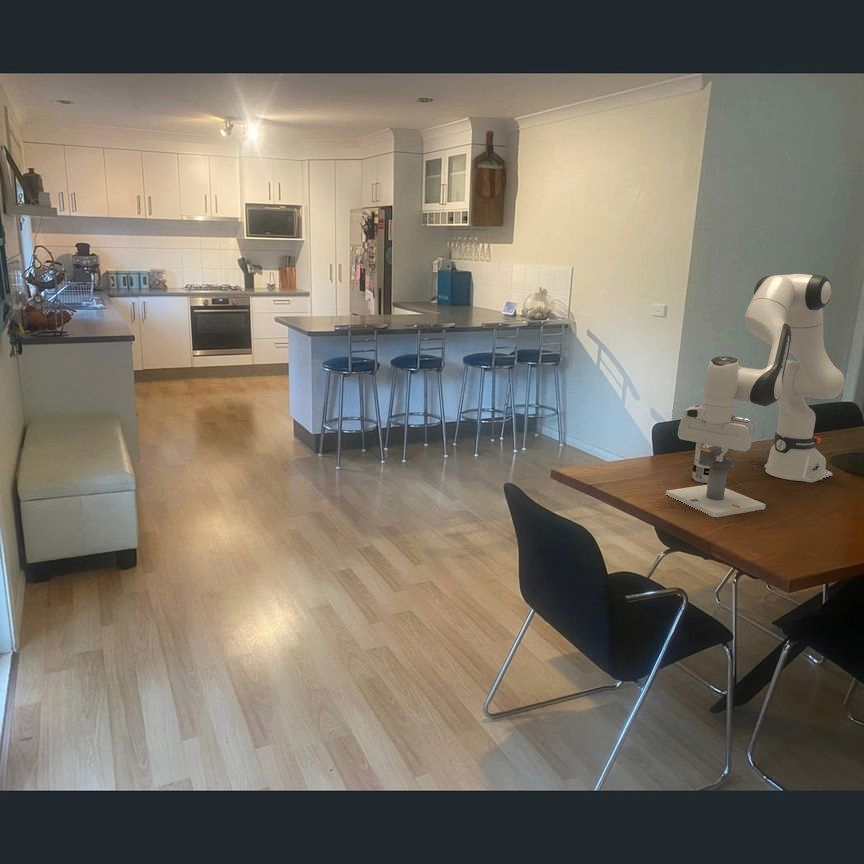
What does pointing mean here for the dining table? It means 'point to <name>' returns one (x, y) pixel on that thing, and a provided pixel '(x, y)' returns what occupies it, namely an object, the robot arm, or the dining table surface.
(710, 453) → the twist knob
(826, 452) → the dining table surface
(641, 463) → the dining table surface
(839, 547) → the dining table surface
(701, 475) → the supplement can
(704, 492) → the base
